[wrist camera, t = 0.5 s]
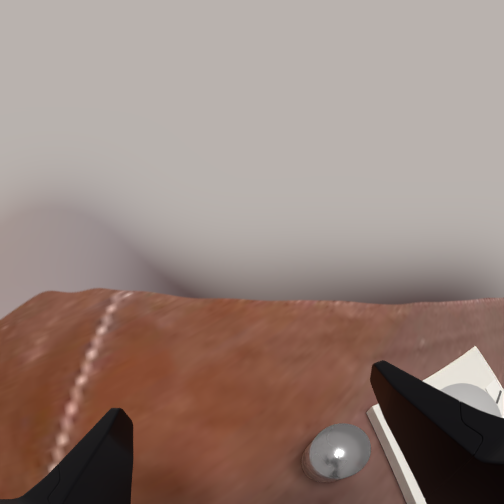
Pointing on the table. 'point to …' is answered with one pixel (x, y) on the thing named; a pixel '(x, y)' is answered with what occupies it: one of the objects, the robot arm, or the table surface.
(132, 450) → the robot arm
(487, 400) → the scale
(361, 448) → the cylinder
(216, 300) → the table surface
